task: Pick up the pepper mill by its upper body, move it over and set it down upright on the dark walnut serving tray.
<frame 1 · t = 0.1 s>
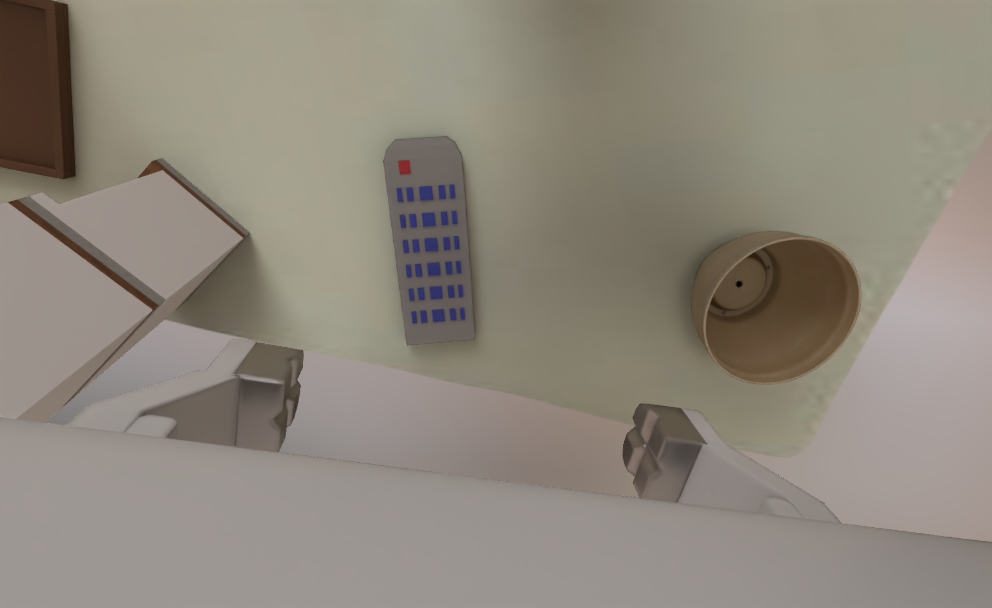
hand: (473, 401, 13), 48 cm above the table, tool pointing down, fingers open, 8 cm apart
planter bowl: (730, 278, 66), on the table
remote control: (434, 246, 61), on the table
two-tier shelf stand: (174, 233, 58), on the table
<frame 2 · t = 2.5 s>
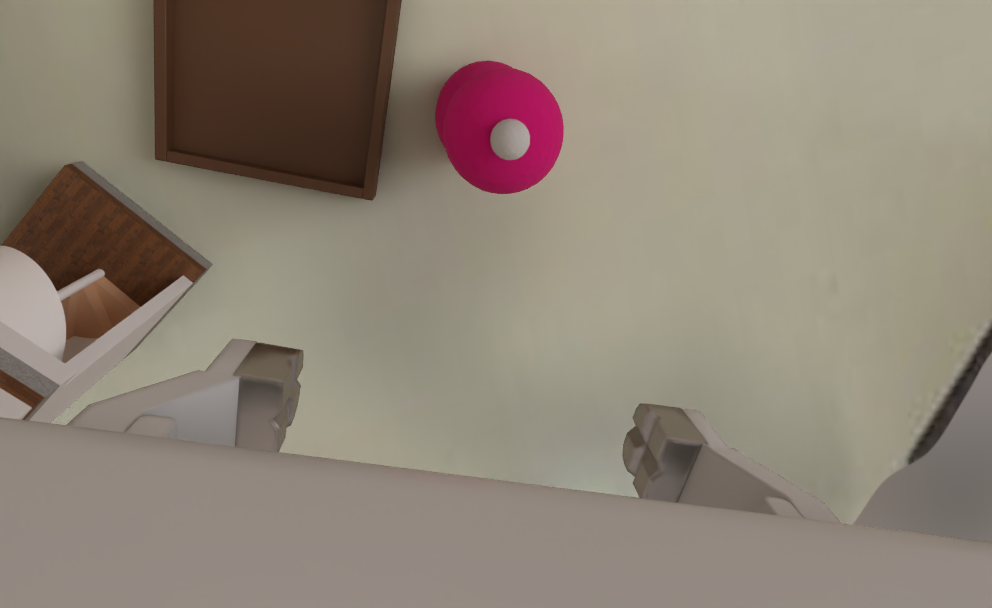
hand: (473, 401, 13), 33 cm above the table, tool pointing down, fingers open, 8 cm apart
pepper mill: (483, 114, 43), on the table
two-tier shelf stand: (111, 260, 44), on the table
serving tray: (280, 69, 40), on the table
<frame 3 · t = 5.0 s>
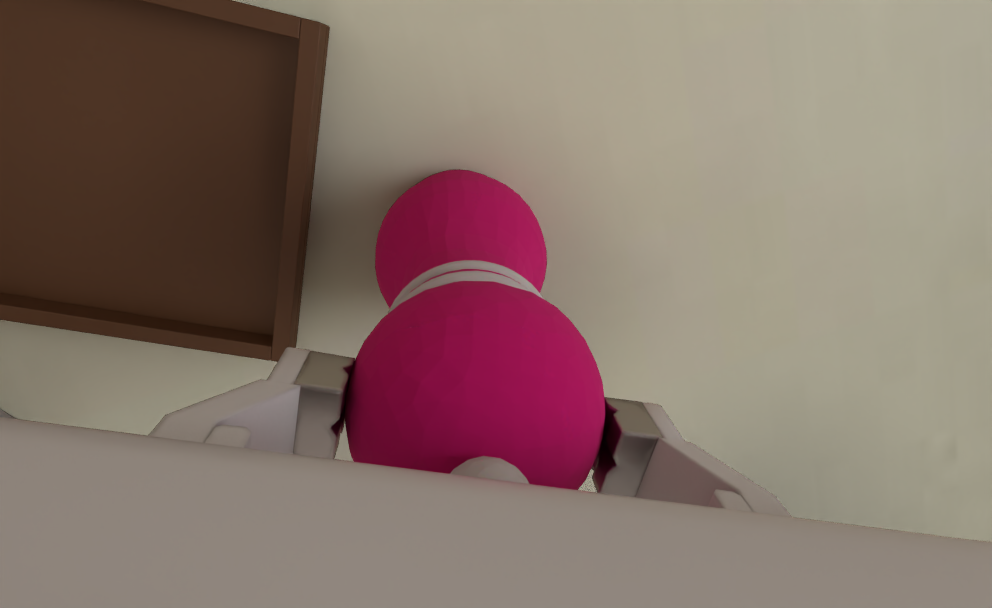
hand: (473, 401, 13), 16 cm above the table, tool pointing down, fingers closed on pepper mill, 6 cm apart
pepper mill: (458, 231, 28), on the table, touching gripper
serving tray: (136, 168, 25), on the table
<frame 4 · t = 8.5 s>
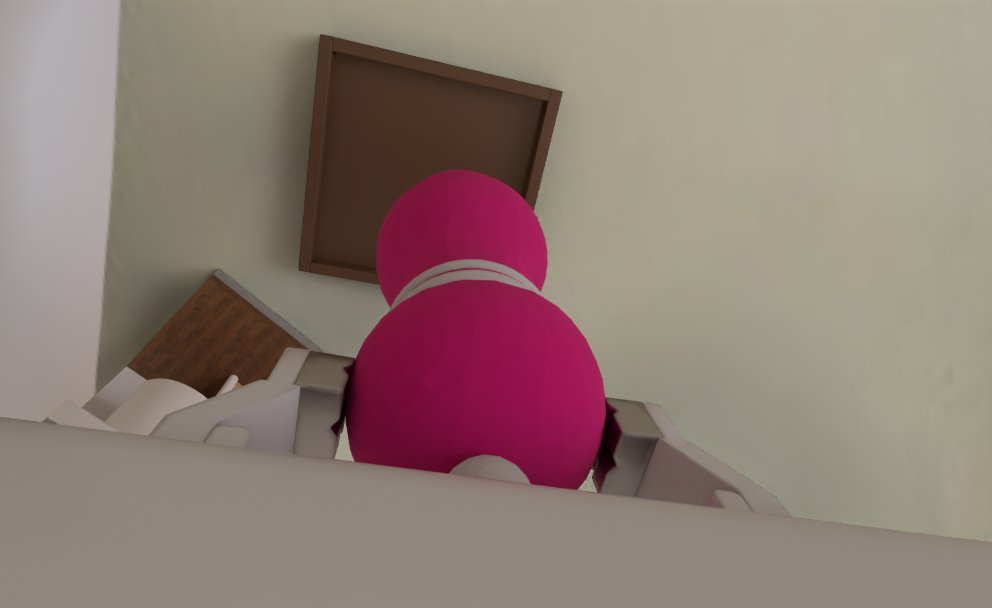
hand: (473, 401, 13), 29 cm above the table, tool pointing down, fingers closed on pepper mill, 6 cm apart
pepper mill: (459, 231, 28), point 13 cm above the table, touching gripper
two-tier shelf stand: (239, 361, 44), on the table
serving tray: (425, 180, 40), on the table
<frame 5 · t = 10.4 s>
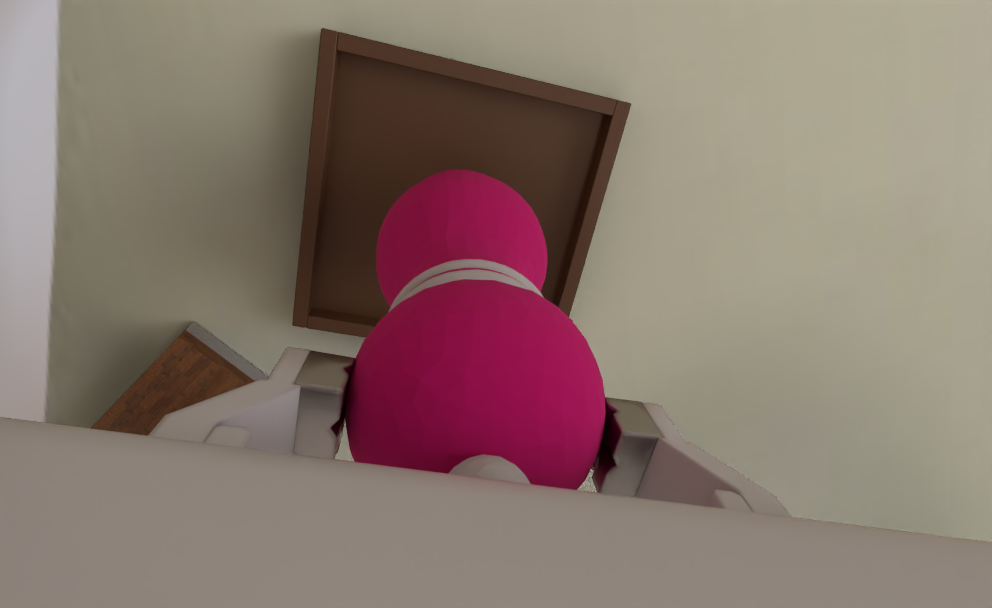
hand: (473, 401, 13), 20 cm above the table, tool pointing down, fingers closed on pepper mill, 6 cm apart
pepper mill: (459, 231, 28), point 4 cm above the table, touching gripper
two-tier shelf stand: (220, 430, 36), on the table
serving tray: (452, 212, 32), on the table
when the fingers open (16 cm above the table, at t = 11.9 s): pepper mill stays where it is, resting on serving tray.
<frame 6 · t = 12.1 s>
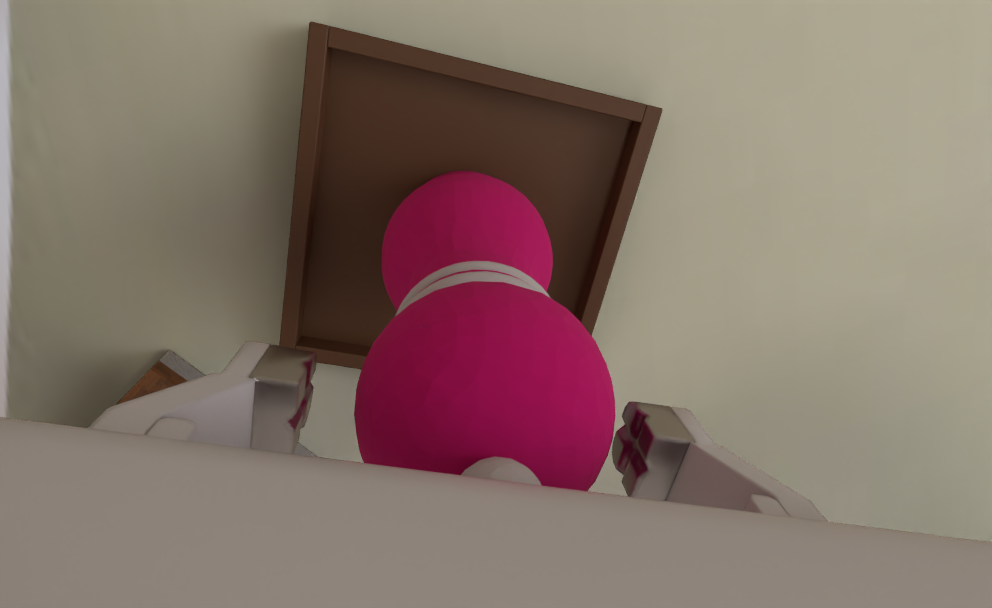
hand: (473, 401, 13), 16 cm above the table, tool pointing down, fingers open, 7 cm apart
pepper mill: (464, 232, 28), resting on serving tray
two-tier shelf stand: (200, 467, 32), on the table
serving tray: (458, 230, 28), on the table
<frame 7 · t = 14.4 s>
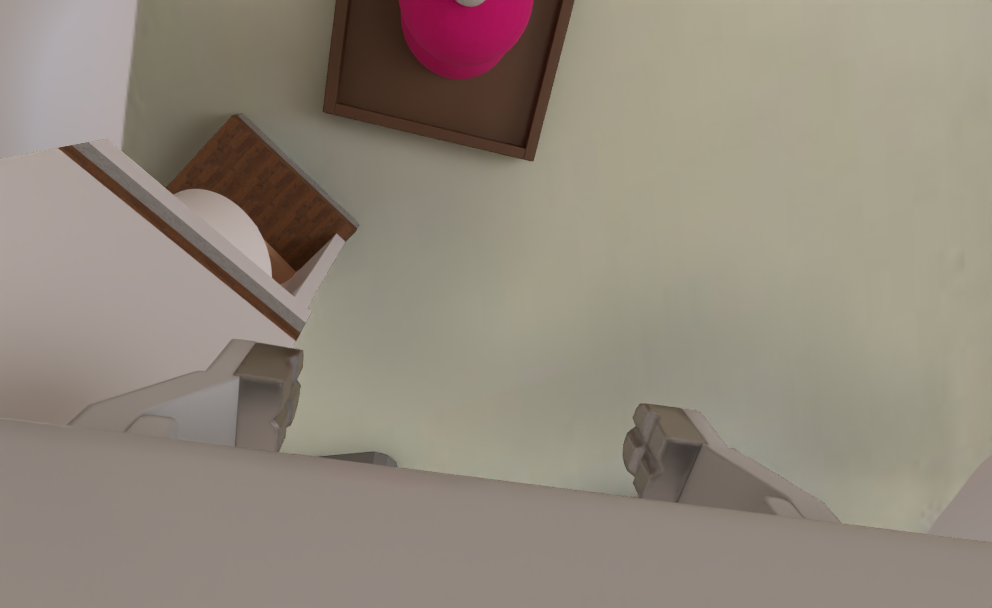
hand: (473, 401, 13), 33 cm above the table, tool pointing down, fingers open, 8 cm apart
remote control: (278, 495, 54), on the table
pepper mill: (456, 24, 39), resting on serving tray
two-tier shelf stand: (258, 218, 44), on the table
serving tray: (452, 24, 40), on the table
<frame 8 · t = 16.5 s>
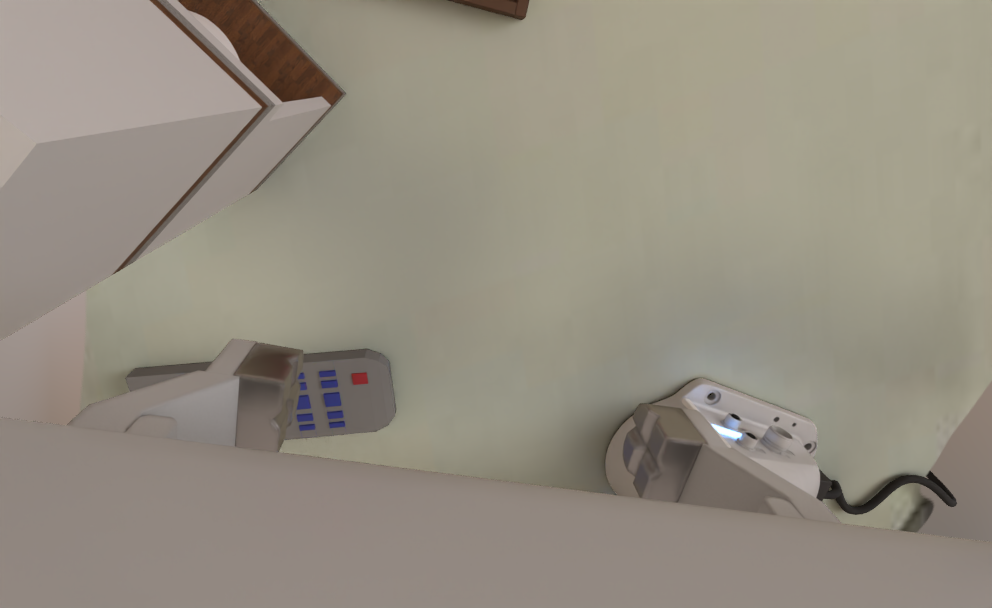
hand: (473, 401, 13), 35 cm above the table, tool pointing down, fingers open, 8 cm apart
remote control: (268, 396, 52), on the table
two-tier shelf stand: (241, 85, 42), on the table
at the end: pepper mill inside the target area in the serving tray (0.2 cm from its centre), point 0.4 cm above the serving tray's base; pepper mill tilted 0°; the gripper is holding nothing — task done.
